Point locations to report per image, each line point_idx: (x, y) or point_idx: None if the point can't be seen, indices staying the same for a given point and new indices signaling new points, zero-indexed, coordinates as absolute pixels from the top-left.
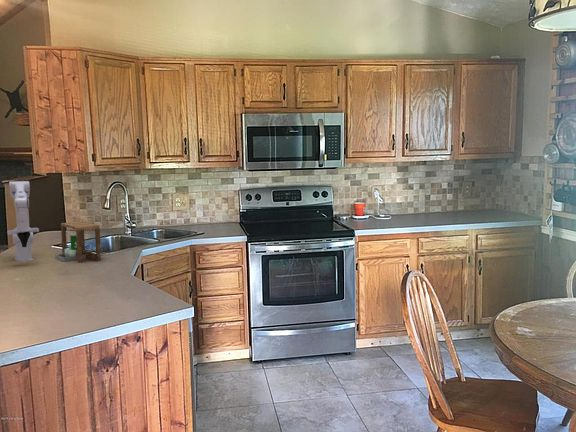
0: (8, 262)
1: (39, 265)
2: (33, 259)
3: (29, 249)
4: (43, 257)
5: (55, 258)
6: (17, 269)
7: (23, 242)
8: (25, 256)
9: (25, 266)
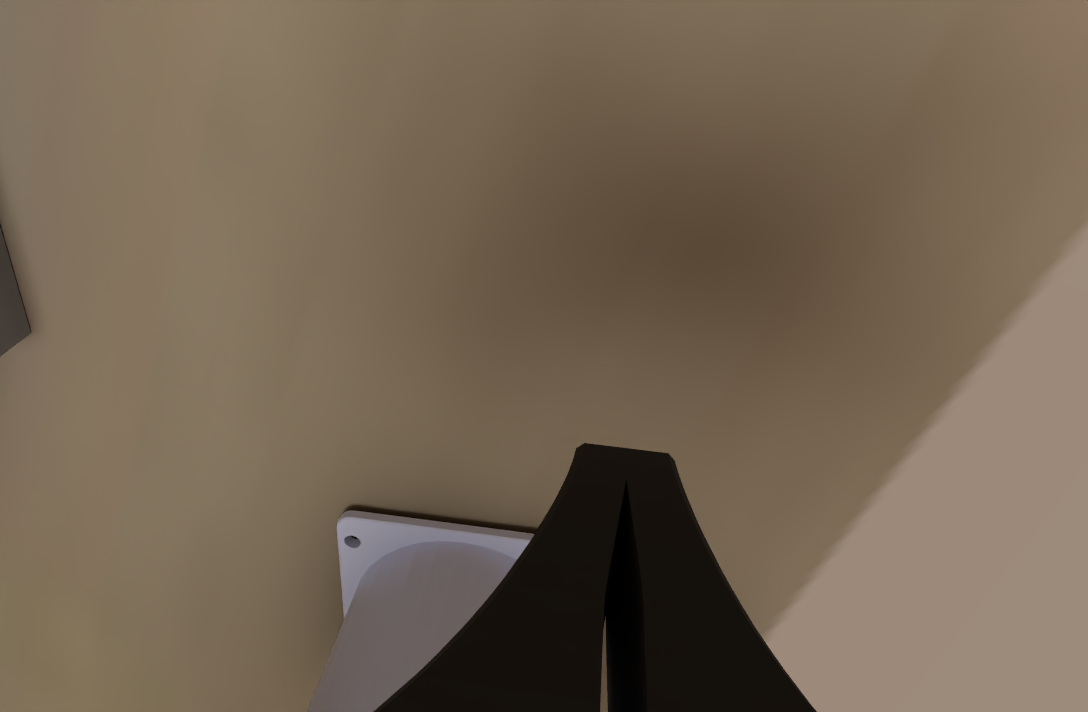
0: None
1: (412, 47)
2: (354, 524)
3: (346, 701)
4: (176, 588)
5: (15, 336)
6: (936, 8)
7: (693, 564)
8: (464, 598)
9: (661, 180)
